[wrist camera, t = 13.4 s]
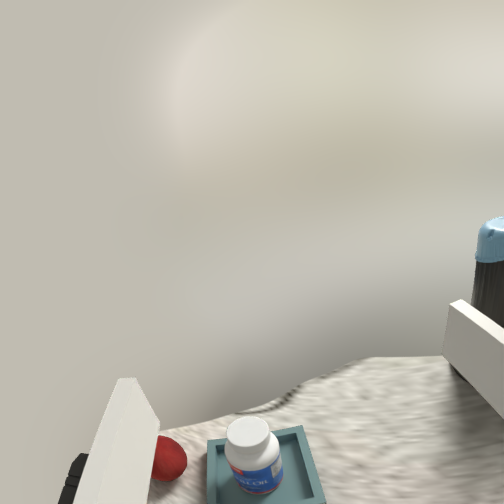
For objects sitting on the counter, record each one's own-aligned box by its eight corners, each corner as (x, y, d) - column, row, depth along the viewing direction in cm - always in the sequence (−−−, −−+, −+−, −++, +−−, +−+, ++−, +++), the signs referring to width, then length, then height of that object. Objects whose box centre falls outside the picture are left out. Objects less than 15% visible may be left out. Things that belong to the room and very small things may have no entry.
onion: (146, 466, 29) (120, 429, 26) (184, 451, 31) (163, 413, 29) (160, 497, 24) (132, 463, 22) (202, 480, 26) (181, 445, 24)
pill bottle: (229, 489, 24) (206, 444, 22) (246, 456, 29) (230, 406, 27) (276, 500, 22) (264, 457, 20) (290, 464, 27) (283, 414, 25)
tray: (303, 434, 32) (302, 425, 32) (325, 508, 21) (326, 501, 20) (211, 449, 32) (207, 440, 31) (212, 525, 20) (206, 519, 19)
